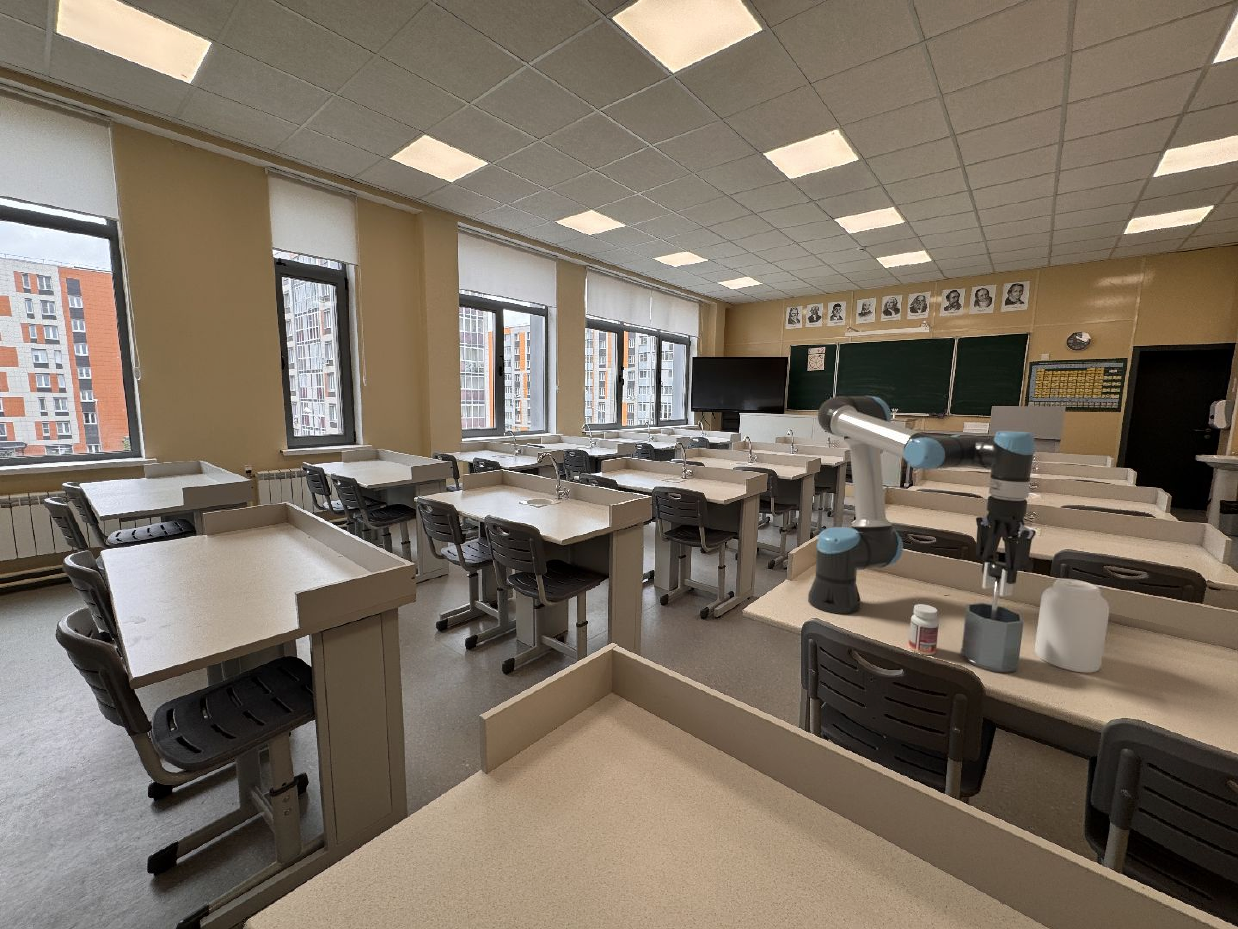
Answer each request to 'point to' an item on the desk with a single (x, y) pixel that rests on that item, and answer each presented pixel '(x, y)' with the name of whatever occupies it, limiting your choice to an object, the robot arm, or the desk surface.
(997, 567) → the plunger
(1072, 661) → the can
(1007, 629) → the grey octagonal container
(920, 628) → the pill bottle
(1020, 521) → the robot arm
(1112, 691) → the desk surface
